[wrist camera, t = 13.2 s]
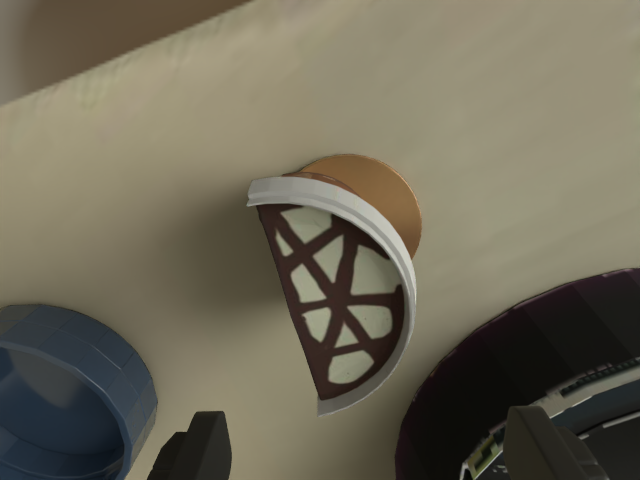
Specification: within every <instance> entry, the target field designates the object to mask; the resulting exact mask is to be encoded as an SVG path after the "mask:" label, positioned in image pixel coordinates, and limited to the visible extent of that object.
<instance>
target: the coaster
mask: <svg viewBox="0 0 640 480" xmlns="http://www.w3.org/2000/svg"><path fill="white" fill-rule="evenodd" d="M299 172H313V173H320V174H323V175H327V176H330V177H333V178H335V179H337V180H339V181H342V182H343V183H345V184H346V185H348V186H349V187H351V188H352V189H353V190H354V191H355V192H356V193H357V194H358V195H359V196H360V197H361V198H362V200H364V201H365V202H367V203H368V204H370V205H371V206H373V207H374V208H375V209H376V210H377V211H378V212H379V213H380V214H381V215H382V216H383V217H384V218H385V219H387V220H388V221H389V222H390V224H391V225H392V227H393V228H394V229H395V231H396V232H397V233H398V235H399V236H400V237H401V239H402V241H403V243H404V245H405V247H406V249H407V251H408V253H409V255H410V258H411V260H412V258H413V257H414V255H415V253H416V250H417V248H418V245H419V241H420V237H421V230H422V218H421V212H420V208H419V204H418V201H417V199H416V197H415V195H414V193H413V191H412V189H411V188H410V186H409V185H408V183H407V182H406V181H405V180H404V179H403V178H402V177H401V175H400V174H398V173H397V172H396V171H395V170H394V169H392V168H391V167H389V166H388V165H386V164H385V163H383V162H380V161H378V160H376V159H373V158H370V157H366V156H361V155H355V154H342V155H334V156H330V157H326V158H323V159H320V160H318V161H315V162H313V163H311V164H310V165H308V166H306V167H305V168H303V169H302V170H301V171H299Z"/></svg>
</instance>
